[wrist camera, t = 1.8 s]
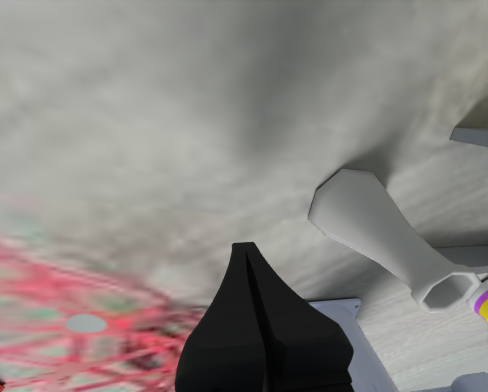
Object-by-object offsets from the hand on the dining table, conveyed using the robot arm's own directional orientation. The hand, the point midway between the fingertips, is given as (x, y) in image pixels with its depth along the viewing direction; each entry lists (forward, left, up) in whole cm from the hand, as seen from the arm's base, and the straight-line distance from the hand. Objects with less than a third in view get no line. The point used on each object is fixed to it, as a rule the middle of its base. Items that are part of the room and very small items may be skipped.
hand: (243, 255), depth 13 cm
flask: (0, -10, -7) cm, 12 cm away
